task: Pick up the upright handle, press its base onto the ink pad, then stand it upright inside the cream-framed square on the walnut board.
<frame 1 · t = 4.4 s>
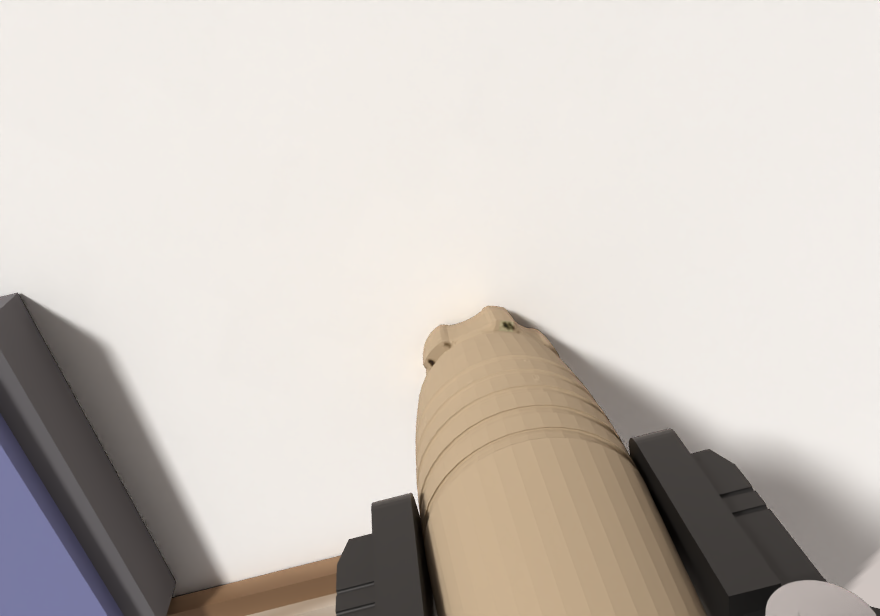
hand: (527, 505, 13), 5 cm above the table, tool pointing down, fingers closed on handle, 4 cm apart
handle: (479, 356, 17), on the table, touching gripper
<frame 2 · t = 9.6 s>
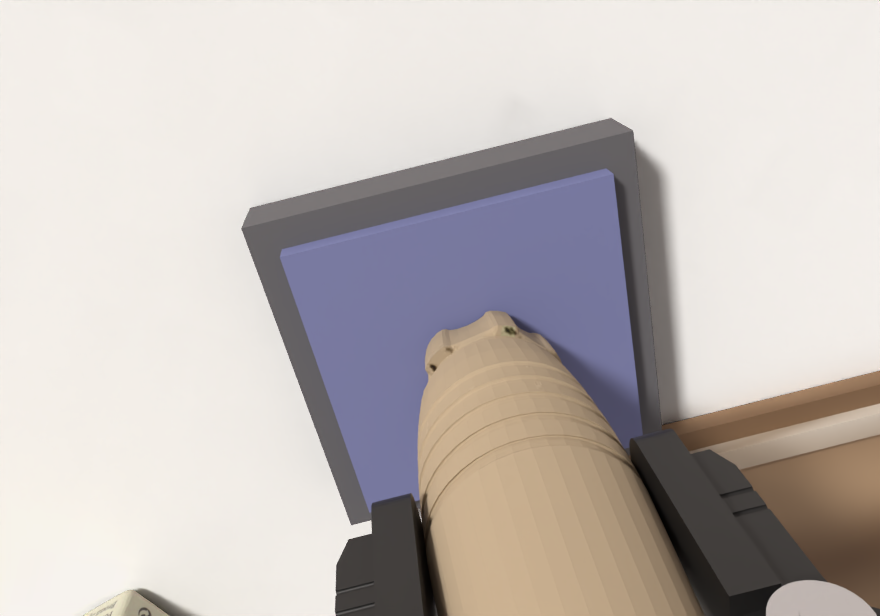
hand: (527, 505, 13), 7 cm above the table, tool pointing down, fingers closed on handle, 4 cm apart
ink pad: (467, 323, 19), on the table
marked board: (760, 544, 24), on the table
handle: (481, 360, 17), point 2 cm above the table, touching gripper, ink pad
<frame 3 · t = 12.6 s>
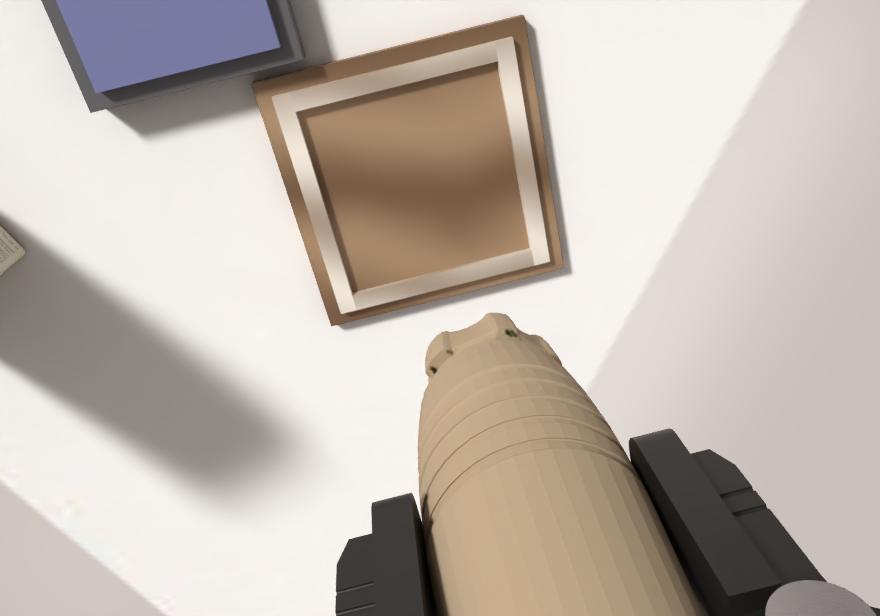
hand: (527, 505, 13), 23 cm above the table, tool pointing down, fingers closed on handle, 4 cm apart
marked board: (419, 180, 33), on the table
handle: (481, 362, 17), point 17 cm above the table, touching gripper
when the fingers open (7 cm above the table, at t = 14.9 s): handle drops 1 cm, resting on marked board.
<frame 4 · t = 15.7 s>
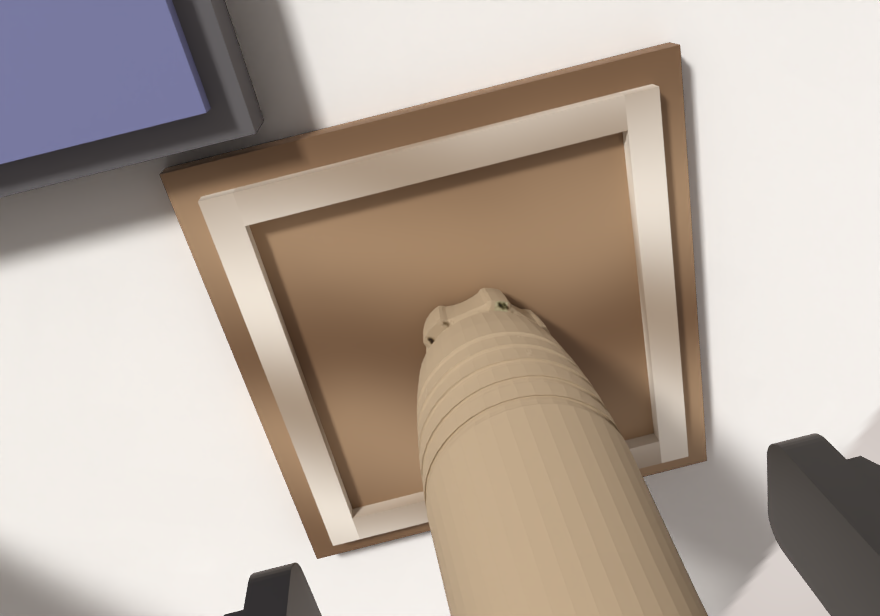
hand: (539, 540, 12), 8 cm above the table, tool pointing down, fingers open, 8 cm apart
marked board: (469, 328, 19), on the table
handle: (476, 335, 19), resting on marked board
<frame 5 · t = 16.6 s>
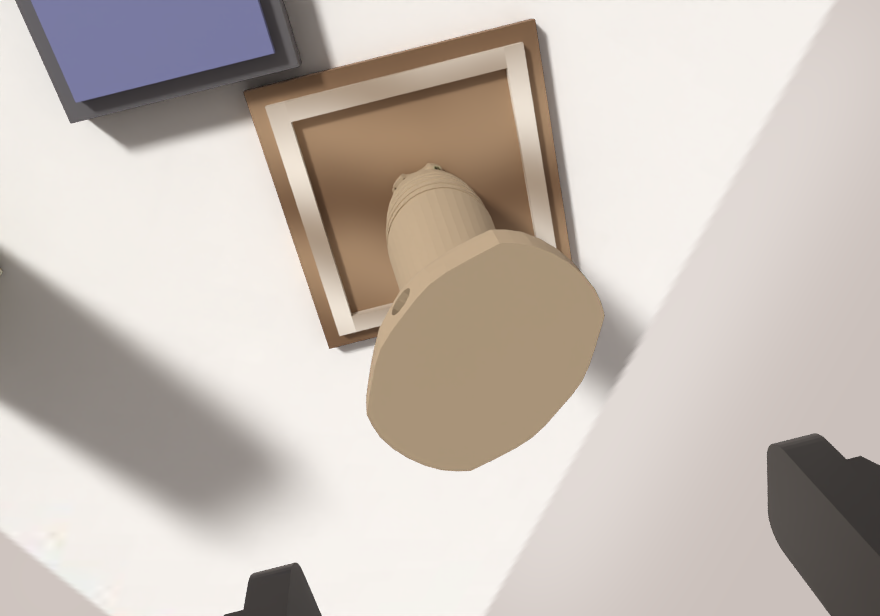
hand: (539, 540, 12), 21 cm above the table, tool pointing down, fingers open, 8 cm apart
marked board: (422, 193, 31), on the table
handle: (425, 196, 31), resting on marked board
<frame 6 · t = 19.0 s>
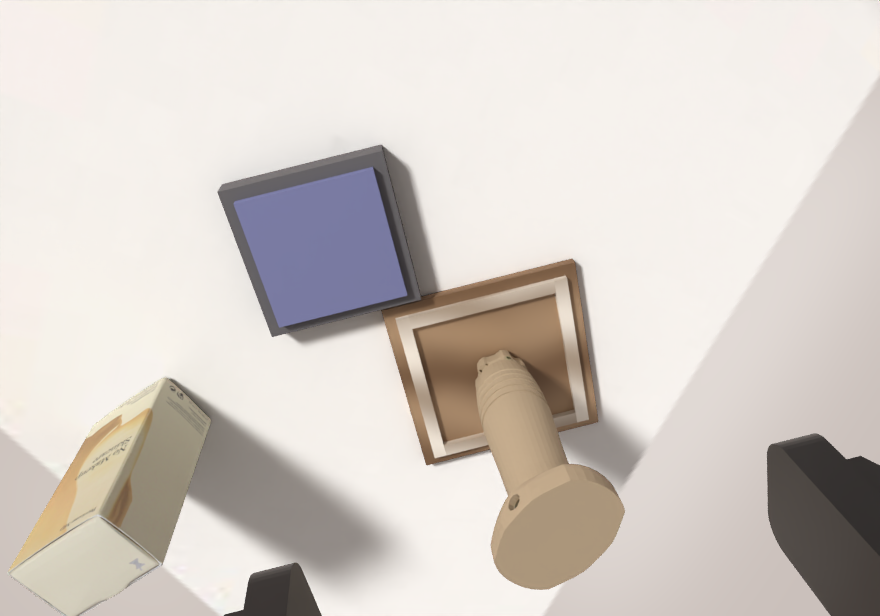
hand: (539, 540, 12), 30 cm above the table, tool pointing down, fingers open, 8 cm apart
ink pad: (325, 239, 41), on the table
skincare box: (152, 421, 45), on the table
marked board: (494, 365, 45), on the table
handle: (497, 368, 45), resting on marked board
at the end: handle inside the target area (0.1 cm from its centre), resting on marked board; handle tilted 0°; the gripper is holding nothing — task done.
